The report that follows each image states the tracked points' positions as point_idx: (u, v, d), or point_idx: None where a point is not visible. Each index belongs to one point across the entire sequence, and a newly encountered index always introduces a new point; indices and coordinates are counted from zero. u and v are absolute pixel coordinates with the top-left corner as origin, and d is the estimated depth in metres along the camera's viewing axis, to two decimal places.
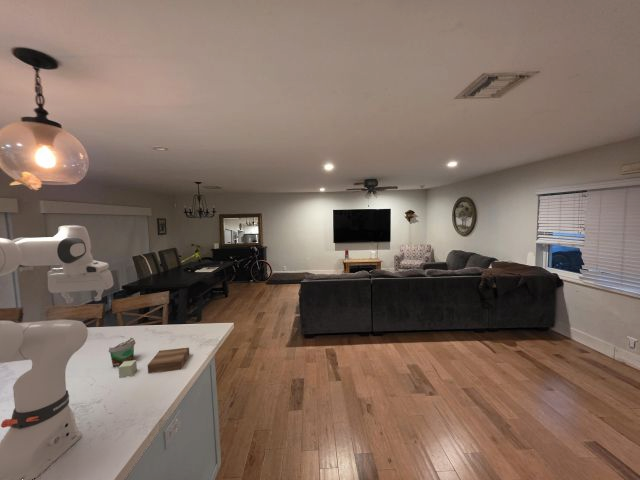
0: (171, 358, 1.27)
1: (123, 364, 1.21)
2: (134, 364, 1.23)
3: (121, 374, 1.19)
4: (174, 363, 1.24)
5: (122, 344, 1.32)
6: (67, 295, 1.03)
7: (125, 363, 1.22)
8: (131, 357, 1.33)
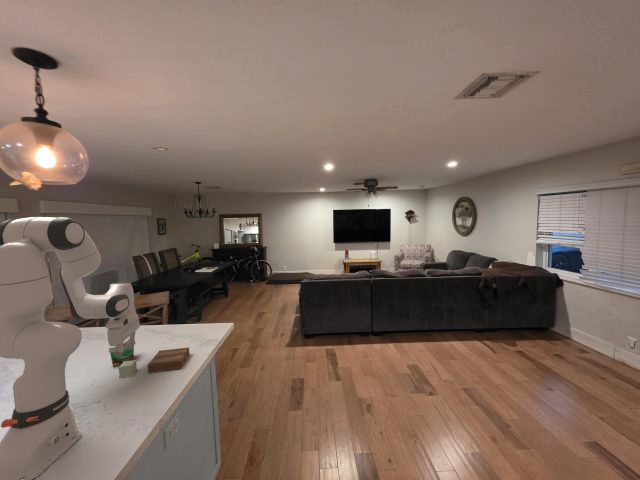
0: (171, 358, 1.27)
1: (123, 364, 1.21)
2: (134, 364, 1.23)
3: (121, 374, 1.19)
4: (174, 363, 1.24)
5: (122, 344, 1.32)
6: (132, 335, 1.27)
7: (125, 363, 1.22)
8: (131, 357, 1.33)
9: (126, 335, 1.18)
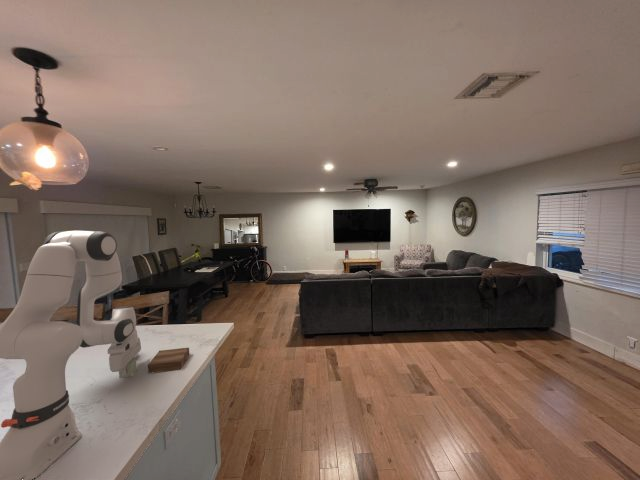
0: (171, 358, 1.27)
1: None
2: (134, 364, 1.23)
3: None
4: (174, 363, 1.24)
5: None
6: None
7: None
8: None
9: (127, 360, 1.19)
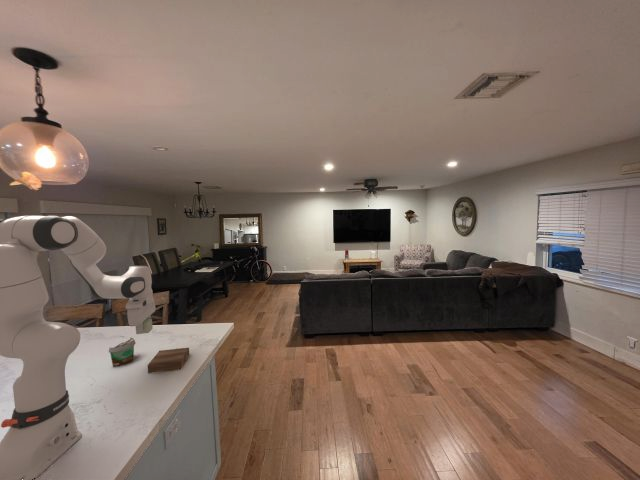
0: (171, 358, 1.27)
1: None
2: (150, 322, 1.26)
3: None
4: (174, 363, 1.24)
5: (122, 344, 1.32)
6: None
7: None
8: (131, 357, 1.33)
9: (144, 316, 1.21)
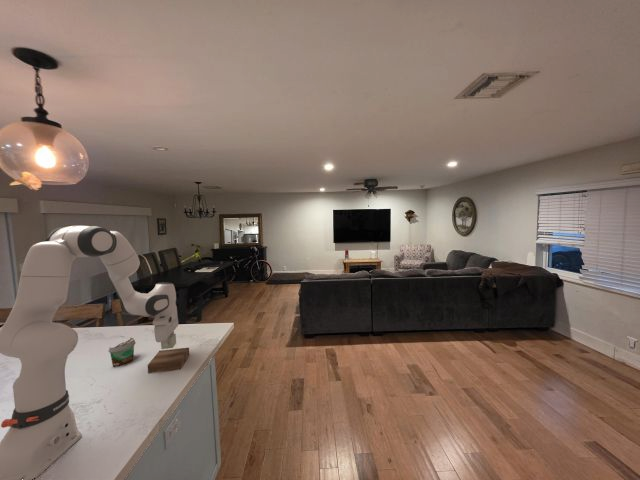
0: (171, 358, 1.27)
1: None
2: (174, 337, 1.31)
3: (163, 345, 1.27)
4: (174, 363, 1.24)
5: (122, 344, 1.32)
6: None
7: None
8: (131, 357, 1.33)
9: (169, 332, 1.26)
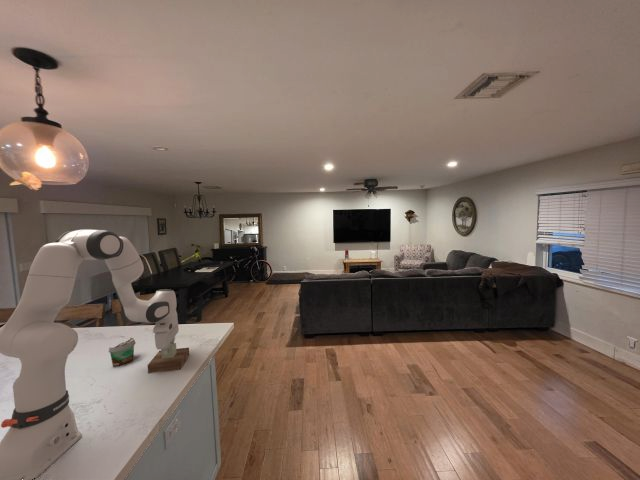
0: (171, 358, 1.27)
1: None
2: (174, 347, 1.31)
3: (163, 355, 1.27)
4: (174, 363, 1.24)
5: (122, 344, 1.32)
6: (172, 339, 1.34)
7: None
8: (131, 357, 1.33)
9: (169, 339, 1.26)
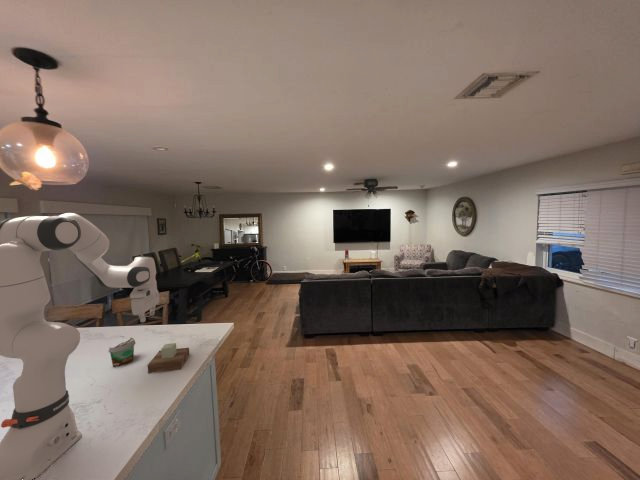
0: (171, 358, 1.27)
1: (165, 346, 1.29)
2: (174, 347, 1.31)
3: (163, 355, 1.27)
4: (174, 363, 1.24)
5: (122, 344, 1.32)
6: (152, 309, 1.33)
7: (166, 345, 1.30)
8: (131, 357, 1.33)
9: (147, 306, 1.24)
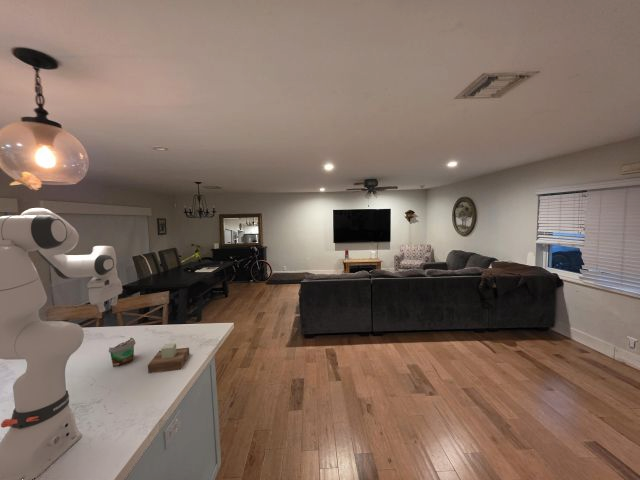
0: (171, 358, 1.27)
1: (165, 346, 1.29)
2: (174, 347, 1.31)
3: (163, 355, 1.27)
4: (174, 363, 1.24)
5: (122, 344, 1.32)
6: (114, 299, 1.31)
7: (166, 345, 1.30)
8: (131, 357, 1.33)
9: (107, 296, 1.23)
